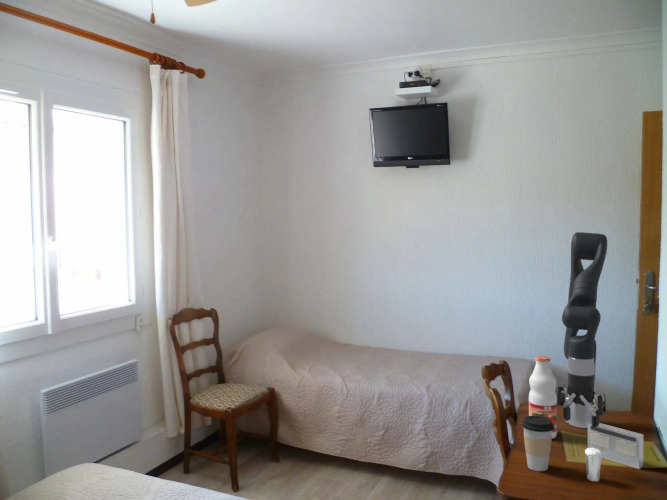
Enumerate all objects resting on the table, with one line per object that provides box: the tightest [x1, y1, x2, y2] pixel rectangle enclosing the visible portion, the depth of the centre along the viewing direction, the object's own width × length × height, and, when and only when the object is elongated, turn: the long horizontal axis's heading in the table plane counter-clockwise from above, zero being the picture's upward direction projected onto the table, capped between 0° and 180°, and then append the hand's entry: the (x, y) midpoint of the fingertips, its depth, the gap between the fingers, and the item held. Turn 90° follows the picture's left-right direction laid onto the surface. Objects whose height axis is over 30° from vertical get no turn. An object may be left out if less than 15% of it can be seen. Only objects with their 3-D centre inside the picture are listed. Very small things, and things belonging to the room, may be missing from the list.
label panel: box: [587, 421, 644, 470], centre depth 178 cm, size 16×3×10 cm, turn 39°
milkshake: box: [584, 446, 605, 482], centre depth 165 cm, size 4×5×10 cm
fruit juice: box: [528, 355, 558, 439], centre depth 199 cm, size 9×9×28 cm
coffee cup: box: [521, 415, 554, 472], centre depth 174 cm, size 9×9×15 cm
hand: (580, 423), depth 172 cm, fingers open, 8 cm apart
